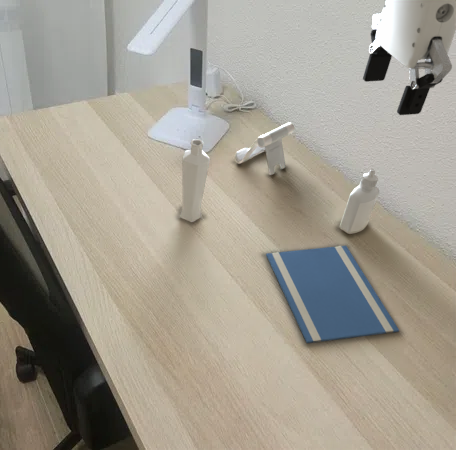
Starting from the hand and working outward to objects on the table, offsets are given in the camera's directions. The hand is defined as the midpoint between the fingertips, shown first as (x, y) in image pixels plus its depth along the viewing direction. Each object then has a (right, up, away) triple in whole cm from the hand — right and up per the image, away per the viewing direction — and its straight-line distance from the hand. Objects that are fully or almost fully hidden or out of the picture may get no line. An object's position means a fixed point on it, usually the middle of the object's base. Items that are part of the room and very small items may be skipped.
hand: (389, 96), depth 77 cm
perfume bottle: (-26, -16, +21) cm, 38 cm away
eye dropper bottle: (+2, -18, +20) cm, 27 cm away
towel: (-6, -28, +8) cm, 30 cm away
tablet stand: (-11, -6, +34) cm, 36 cm away
